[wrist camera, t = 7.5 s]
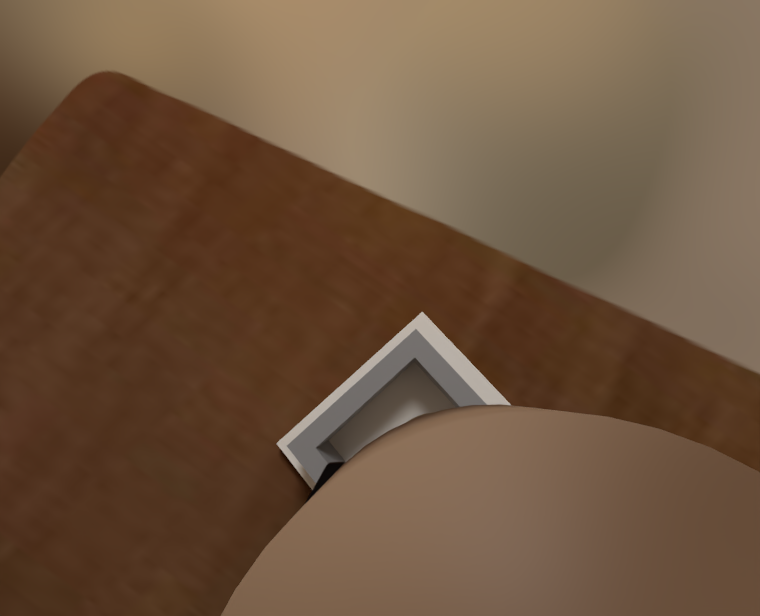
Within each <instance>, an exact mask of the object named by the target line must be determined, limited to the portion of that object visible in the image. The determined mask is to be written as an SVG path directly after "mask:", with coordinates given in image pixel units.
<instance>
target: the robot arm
mask: <svg viewBox="0 0 760 616" xmlns="http://www.w3.org/2000/svg"><path fill="white" fill-rule="evenodd" d="M344 463H345V462H343V461H341V462H330V463H328V464H327V465H326V467H325V468H324V470H323V472H322V474H321V476H320V477H319V479H318V481H317V483H316V485H315V486H314V488H313V490H312V492H311V494H310V495H309V497H308V499H307V501H306V503H307V502H308V501H309V499H310V498H311V497H312V496H313V495H314V494H315V493H316V492H317V491H318V490H319V489H320V488H321V487H322V486H323V485H324V484H325V483H326V482H327V481H328V480H329V479H330V478H331V477H332V475H333V474H334V473H335V472H336V471H337V470H338V469H339V468H340V467H341V466H342V465H343V464H344ZM306 503H305V504H306ZM305 504H304V505H305Z"/></svg>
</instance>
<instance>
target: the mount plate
mask: <svg viewBox="0 0 760 616" xmlns="http://www.w3.org/2000/svg"><path fill="white" fill-rule="evenodd" d="M497 404H502V405H511V404H510V403H509V402H508V401H507V400H506V399H505V398H504V397H503V396H502V395H501V394H500V393H499V392H498V391H497V390H496V389H495V388H494V387H493V386H492V385H491V383H490V382H489V381H488V380H487V379H486V378H485V377H484V376H483V375H482V374H481V373H480V372H479V371H478V370H477V369H476V368H475V367H474V366H473V365H472V363H471V362H470V361H469V360H468V359H467V358H466V357H465V356H464V355H463V354H462V353H461V352H460V351H459V350H458V349H457V348H456V347H455V346H454V345H453V343H452V342H451V341H450V340H449V339H448V338H447V337H446V336H445V335H444V334H443V333H442V332H441V331H440V330H439V329H438V328H437V327H436V326H435V325H434V324H433V322H432V321H431V320H430V319H429V318H428V317H427V316H426V315H425V314H424V313H423V312H422V313H420V314H419V315H418V316H417V317H416V318H415V319H414V320H413V321H412V322H410V323H409V324H408V325H407V326H406V327H405V328H404V329H403V330H402V331H401V332H399V333H398V334H397V335H396V336H395V337H394V338H393V339H392V340H391V341H389V342H388V343H387V344H386V345H385V346H384V347H383V348H382V349H381V350H379V351H378V352H377V353H376V354H375V355H374V356H373V357H372V358H371V359H369V360H368V361H367V362H366V363H365V364H364V365H363V366H362V367H361V368H360V369H358V370H357V371H356V372H355V373H354V374H353V375H352V376H351V377H350V378H348V379H347V380H346V381H345V382H344V383H343V384H342V385H341V386H340V387H338V388H337V389H336V390H335V391H334V392H333V393H332V394H331V395H330V396H328V397H327V398H326V399H325V400H324V401H323V402H322V403H321V404H320V405H318V406H317V407H316V408H315V409H314V410H313V411H312V412H311V413H310V414H309V415H307V416H306V417H305V418H304V419H303V420H302V421H301V422H300V423H299V424H297V425H296V426H295V427H294V428H293V429H292V430H291V431H290V432H289V433H287V434H286V435H285V436H284V437H283V438H282V439H281V440H280V441H279V442H277V443H276V444H277V445H278V446H279V447H280V449H281V450H282V451H283V453H284V454H285V455H286V457H287V458H288V459H289V460H290V462H291V463H292V464H293V466H294V467H295V468H296V470H297V471H298V472H299V473H300V475H301V476H302V477H303V479H304V480H305V481H306V483H307V484H308V485H309V486H310V488H311V489H312V490H313V488H314V486H315V485H316V483H317V481H318V479H319V477H320V476H321V474H322V472H323V470H324V468H325V467H326V465H327V464H328V463H330V462H341V461H343V462H347V461H348V460H349V459H350V458H351V457H353V456H354V455H355V454H356V453H357V452H358V451H360V450H361V449H362V448H363V447H364V446H366V445H367V444H369V443H370V442H372V441H373V440H375V439H377V438H378V437H380V436H381V435H383V434H384V433H386V432H388V431H389V430H391V429H393V428H395V427H398V426H400V425H402V424H404V423H406V422H407V421H409V420H411V419H412V418H414V417H417V416H419V415H422V414H426V413H432V412H437V411H441V410H445V409H451V408H457V407H463V406H470V405H497Z"/></svg>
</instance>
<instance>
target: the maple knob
mask: <svg viewBox="0 0 760 616" xmlns="http://www.w3.org/2000/svg"><path fill="white" fill-rule="evenodd" d="M221 616H760V472H758V471H756V470H754V469H752V468H750V467H748V466H746V465H744V464H742V463H740V462H738V461H736V460H734V459H732V458H730V457H728V456H726V455H724V454H722V453H720V452H718V451H716V450H714V449H712V448H710V447H707V446H705V445H702V444H699V443H697V442H694V441H691V440H688V439H686V438H683V437H680V436H677V435H675V434H672V433H669V432H666V431H664V430H661V429H658V428H654V427H649V426H645V425H641V424H637V423H632V422H628V421H624V420H620V419H615V418H611V417H606V416H597V415H589V414H580V413H572V412H564V411H555V410H547V409H539V408H530V407H521V406H511V405H502V404H497V405H470V406H463V407H457V408H451V409H445V410H441V411H437V412H432V413H426V414H422V415H419V416H417V417H414V418H412V419H411V420H409V421H407V422H406V423H404V424H402V425H400V426H398V427H395V428H393V429H391V430H389V431H388V432H386V433H384V434H383V435H381V436H380V437H378V438H377V439H375V440H373V441H372V442H370V443H369V444H367V445H366V446H364V447H363V448H362V449H361V450H360V451H358V452H357V453H356V454H355V455H354V456H353V457H351V458H350V459H349V460H348V461H347V462H345V463H344V464H343V465H342V466H341V467H340V468H339V469H338V470H337V471H336V472H335V473H334V474H333V475H332V477H331V478H330V479H329V480H328V481H327V482H326V483H325V484H324V485H323V486H322V487H321V488H320V489H319V490H318V491H317V492H316V493H315V494H314V495H313V496H312V497H311V498H310V499H309V501H308V502H307V503H306V504H305V505H304V506H303V507H302V508H301V509H300V510H299V511H298V512H297V513H296V514H295V515H294V516H293V518H292V519H291V520H290V521H289V522H288V523H287V524H286V525H285V526H284V527H283V529H282V530H281V531H280V532H279V533H278V534H277V535H276V536H275V537H274V538H273V539H272V541H271V542H270V543H269V544H268V545H267V546H266V547H265V548H264V550H263V551H262V553H261V554H260V555H259V557H258V558H257V560H256V561H255V563H254V564H253V565H252V567H251V568H250V570H249V571H248V572H247V574H246V575H245V577H244V578H243V580H242V581H241V582H240V584H239V585H238V587H237V588H236V589H235V591H234V593H233V595H232V596H231V598H230V600H229V602H228V604H227V606H226V607H225V609H224V611H223V613H222V615H221Z"/></svg>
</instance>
